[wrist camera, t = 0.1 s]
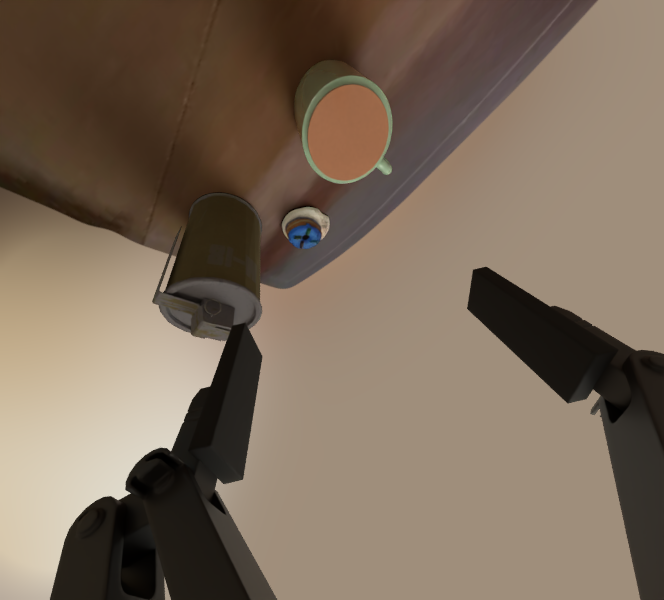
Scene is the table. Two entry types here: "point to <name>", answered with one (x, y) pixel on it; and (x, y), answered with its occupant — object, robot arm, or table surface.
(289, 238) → the dessert
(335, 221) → the table surface
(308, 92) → the mug
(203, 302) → the canister
